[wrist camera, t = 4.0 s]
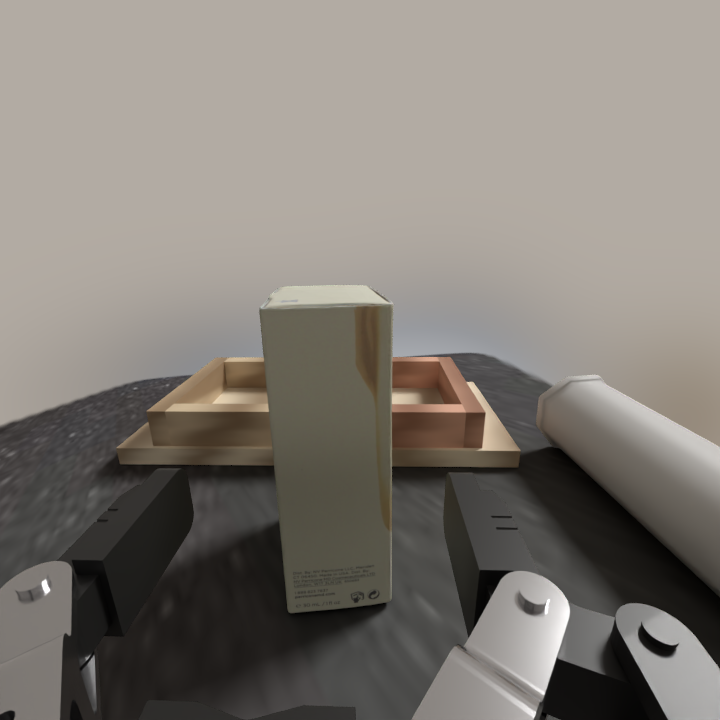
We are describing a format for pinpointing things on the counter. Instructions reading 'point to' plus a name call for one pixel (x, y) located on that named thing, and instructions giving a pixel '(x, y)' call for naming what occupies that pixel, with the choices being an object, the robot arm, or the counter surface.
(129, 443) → the two-compartment wooden tray
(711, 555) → the tube
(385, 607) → the counter surface
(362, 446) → the skincare box
